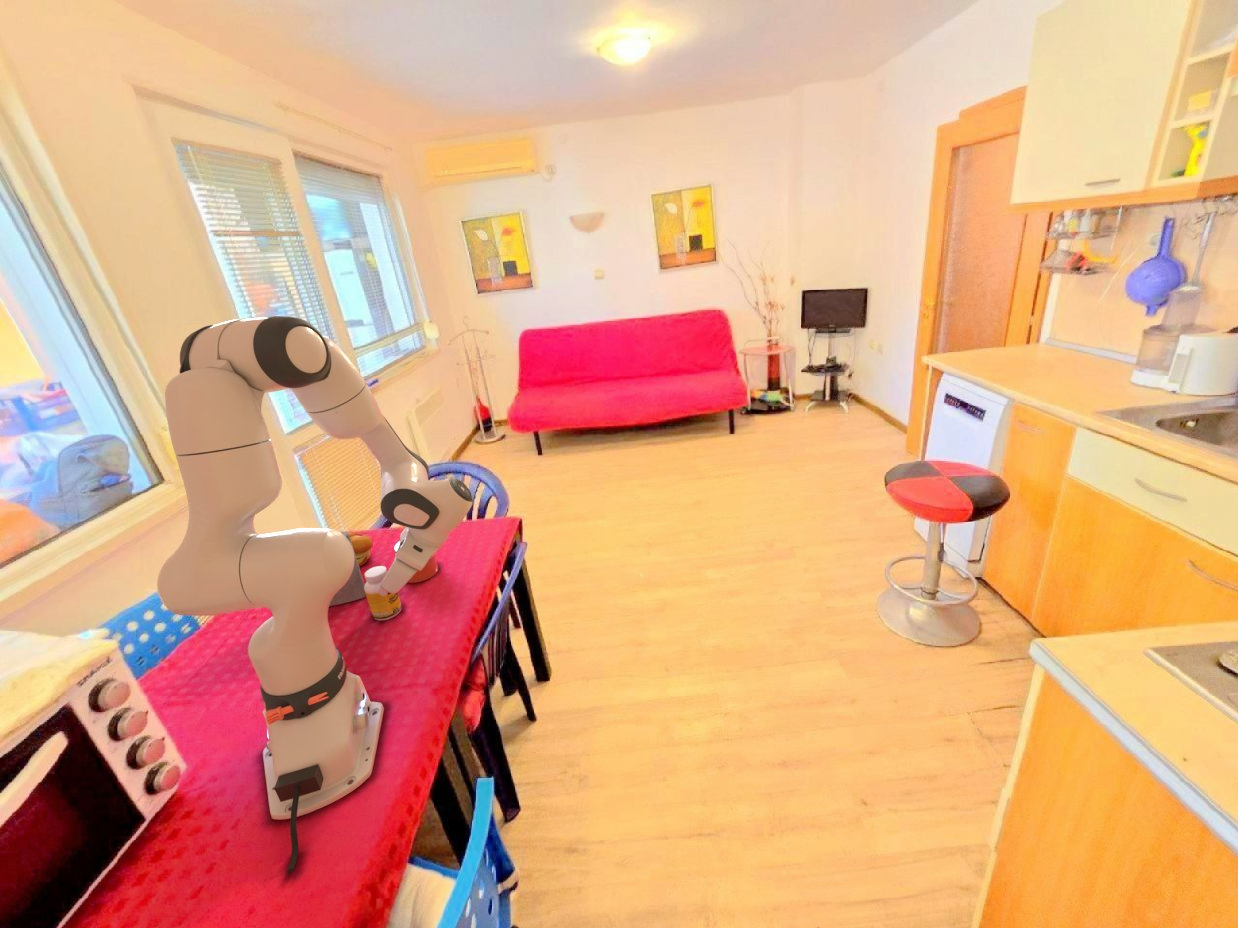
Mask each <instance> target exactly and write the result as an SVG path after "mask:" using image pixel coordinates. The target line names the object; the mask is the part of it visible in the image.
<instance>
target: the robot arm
mask: <svg viewBox="0 0 1238 928" xmlns="http://www.w3.org/2000/svg"><path fill="white" fill-rule="evenodd" d="M179 365H180V366H179V367H180V368H179V374H177V375H176V376H174V377H173V378H171V379H170V380H169V382H167V384H166V386H165V390H164V399H165V413H166V420H167V427H168V433H169V436H170V441H171V444H172V445H171V446H172V448H173V452H174V455H175V458H176V461H177V464H178V468H179V471H180V475H181V478H182V482H183V487H184V491H185V495H186V499H187V504H188V523H187V528H186V532H185V534H184V537H183V539H182V541H181V543H180V545H179V547H178V548H177V549H176V550H175V551H174V552H173V554H171V555H170V556H169V557H168V558H167V559H166V560H165V562H164V563H163V565H162V566H161V567H160V570H159V573H158V576H157V581H156V588H157V594H158V597H159V599H160V602H162V604H163V605H164V607H166V609H167V610H168V611H170V612H171V613H173V614H175V615H176V616H177V615H178V616H195V617H196V616H199V617H201V616H202V617H205V616H206V617H207V616H208V617H211V616H212V617H213V616H220V615H227V614H233V613H238V612H244V611H250V610H254V609H255V610H256V609H265V608H266V609H268V610H269V611H270V612H271V614H272V616H271V617H270V618H269V617H268V619H266V620H265V621H264V622H263V623H261V625H259V627H257V628H256V629H255V631H254V632H253V633H252V635H251V637H250V638H249V639H250V640H249V642H248V646H247V656H248V658H249V661H250V663H251V665H252V667H253V670H254V672H255V674H256V676H257V678H258V681H259V683H260V685H259V689H260V693H261V700H262V704H263V706H264V707H265V708H264V709H263V710H262V715H263V717H264V719H265V724H266V731H267V738H268V741H267V742H266V746H265V747H264V748H263V750H262V758H263V759H262V761H263V766H264V767H263V768H264V776H265V783H266V790H267V791H266V792H267V799H268V800H267V801H268V807H269V813H270V817H271V819H272V820H289V819H290V820H289V821H290V823H289V832H290V841H291V858H290V862H289V865H288V868H287V871H286V872H287V873H288V874H292V873H294V871H295V867H296V864H297V861H298V857H299V837H298V828H297V827H298V826H297V824H298V822H297V821H298V817H301V816H304V815H307V814H310V813H312V812H315V811H317V810H319V809H321V808H324V807H326V806H329V805H330V804H333V803H334V802H336V801H338V800H340V799H342V798H343V797H345V796H347V795H348V794H350V793H352V792H353V791H354V790H356V789H357V788H359V787H360V786H361V785H363V783H365V782H366V781H367V780H368V779H369V778H370V777H371V775H372V774H373V773H372V772H373V768H374V763H375V758H376V753H377V748H378V743H379V739H380V734H381V733H380V732H381V727H382V722H383V717H384V711H385V707H384V705H383V703H382V702H380V701H371V700H370V699H371V698H370V697H369V694H368V692H367V690H366V687H365V685H364V683H363V680H362V678H361V676H359V675H357V674H355V673H353V672H351V671H350V670H349V671H348V670H347V669H348V667H347V666H346V661H345V659H344V656H343V655H342V653H341V651H340V649H338V648H337V647H336V645H335V641H334V639H333V638H334V637H333V635H332V632H331V627H330V623H329V619H328V618H329V617H328V616H329V615H328V614H329V608H330V606H329V605H330V602H331V600H332V599H333V597H334V596H335V594H336V593H337V592H338V591H339V590H340V589H341V588H342V587H343V586H344V585H345V584H346V583H347V581H348V580H349V578H350V576H351V574H352V571H353V568H354V560H355V558H354V551H353V548H352V546H351V544H350V542H349V540H348V539H347V538H346V537H345V536H344V535H343V534H342V533H341V532H342V531H340V530H339V529H336V528H325V527H324V528H323V527H300V528H294V529H287V530H280V531H274V532H267V533H261V534H260V533H257V532H256V529H255V517H256V515H257V514H259V513H260V512H262V511H263V510H265V509H266V508H267V507H269V506H270V505H271V504H273V503H274V502H275V501H276V500H277V498H278V497H279V496H280V494H281V491H282V487H283V480H282V476H281V472H280V469H279V465H278V462H277V458H276V454H275V450H274V447H273V443H272V439H271V436H270V432H269V429H268V426H267V423H266V421H265V417H264V415H263V412H262V406H263V405H262V404H263V400H264V396H265V394H267V393H274V392H279V391H284V390H290V391H291V392H292V393H293V394H294V396H295V397H296V399H297V401H298V402H299V404H300V405H301V406H302V408H303V409H304V411H305V412H306V413H307V415H308V416H309V417H310V419H311V420H312V421H313V422H314V424H315V425H316V426H317V427H318V428H319V429H320V430H321V431H322V432H323V433H325V435H327V436H328V437H330V438H333V439H336V440H343V441H344V440H347V441H348V440H354V439H357V438H359V439H360V440H361V441H362V442H363V444H364V446H366V447H367V449H368V450H369V451H370V453H371V454H372V455H373V456H374V457H375V460H377V462H378V464H379V466H380V467H379V468H380V480H381V481H380V483H381V484H380V485H381V486H380V501H379V503H380V504H379V505H380V506H379V507H380V512H381V514H382V516H383V517H384V518H385V519H386V520H387V521H389V522H391V523H392V524H394V525H399V526H402V527H404V529H403V530H402V531H401V533H400V535H399V541H398V542H399V546H398V549H397V551H396V553H394V560H393V562H392V563H391V566H390V567H389V569H387V574H386V575H385V577H384V579H383V581H382V582H381V585H380V587H381V588H380V589H379V591H378V593H379V594H380V595H382V596H386V594H387V593H388V592H389V593H391V594H395V593H397V592H398V593H399V591H401V589H402V588H403V587H404V586H405V585H406V584H407V583H408V581H409V580H410V579H411V578H412V577H413V575H414V574H415V573H416V572H417V571H418V570H419V571H421V570H422V569H423V568H424V567H425V565H426V564H427V563H428V561H429V559H431V558H432V557H433V556H434V555H435V556H436V554H437V553H438V551H439V550H440V549H441V548H442V547H443V546H444V544H445V543H446V542H447V540H448V538H449V536H450V534H451V533H452V532H453V531H455V530H456V529H457V528H458V527H459V526H460V524H461V523H462V522H463V520H464V519H465V518H466V516H467V515H468V513H469V512H470V510H471V508H472V506H473V503H474V499H473V495H472V492H471V490H470V488H469V487H468V485H466V484H465V483H464V482H463V481H462V480H460V479H459V478H457V477H453V476H449V477H447V478H445V479H436V480H430V468H429V466H428V464H427V462H426V460H425V459H424V458H422V457H421V456H420V455H418V454H417V453H415V452H414V451H412V450H411V449H410V448H409V447H407V446H406V445H405V444H404V442H403V440H401V438H400V436H399V435H398V434H397V433H396V431H395V429H394V428H393V427H392V426H391V424H390V422H389V421H388V419H387V418H386V417H385V415H384V414H383V411H382V410H381V408H380V406H379V404H378V402H377V399H376V398H375V396H374V394H373V392H372V390H371V388H370V387H369V385H368V384H367V382H366V380H365V379H364V378H363V376H362V375H361V373H360V372H359V370H358V369H357V367H356V366H355V365H354V363H353V362H352V360H351V359H350V358H349V357H348V356H347V355H346V353H345V352H344V351H343V350H342V349H341V348H340V347H339V346H338V345H337V344H336V343H335V341H334V340H333V339H331V338H329V337H327V336H326V335H323V334H322V332H320V331H319V329H317V328H316V327H315V326H314V325H313V324H311V323H310V322H309V321H307V320H305V319H303V318H300V317H296V316H291V315H271V316H268V317H256V318H246V317H245V318H244V317H243V318H237V319H232V320H228V321H224V322H221V323H218V324H210V325H206V326H203V327H200V328H198V329H197V330H194V331H192V333H190V334H189V335H188V336H187V337H186V338H185V339H184V340H183V342H182V344H181V347H180V352H179Z"/></svg>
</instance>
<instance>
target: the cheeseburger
mask: <svg viewBox="0 0 1238 928" xmlns="http://www.w3.org/2000/svg"><path fill="white" fill-rule="evenodd" d="M347 532H348V533H349V536H350V540H351V543H352V546H353V549H354V552H355V555H356V558H357V562H358V565H359V568H360V567H362V566H364V565H365V563H367V562H368V560H369V559H370V556H371V549H372V548H373V546H374V543H373V540H372V539H371V537H370V536H368V535H367V534H359V533H356V532H352V531H347Z"/></svg>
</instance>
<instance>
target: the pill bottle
mask: <svg viewBox="0 0 1238 928" xmlns="http://www.w3.org/2000/svg"><path fill="white" fill-rule="evenodd" d="M387 572H388V568H387V567H386V566H385V565H376V566H373V567H370V568H368V569H367V570H366V571H365V572H364V578H365V581H366V582H365V583H364V584H365V586H364V590H365V594H366V596H365V597H366V599H367V603H368V606H369V609H370V612H371V616H372V617H373V619H374V620H376V621H387V620H390V619H393V618H395V617H396V616H397V615H398V614H400V612H401V611H402V607H403V605H402V602H401V599H400V595H399V591H398V592H397V593H395V594H391V593H389V592H388V593H387V594H386V596H382V595H380V594H379V593H378V591H379V589H380V588H381V587H380V585H381V582H382V581H383V579H384V577H385V575H386V574H387Z"/></svg>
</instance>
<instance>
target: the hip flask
mask: <svg viewBox="0 0 1238 928" xmlns="http://www.w3.org/2000/svg"><path fill="white" fill-rule="evenodd" d="M340 532H341V533H342V534H343V535H344V536H345V537H346V538H347V539H348V540H349V542H350V544H351V546H352V543H351V540H350V536H349V533H348V532H349V531H340ZM352 548H353V546H352ZM353 551H354V549H353ZM354 558H355V560H354V568H353V571H352V574H351V576H350V578H349V580H348V581H347V583H346V584H345V585H344V586H343V587H342V588H341V589H340V590H339V591H338V592H337V593H336V594H335V596H334V597H333V599H332V600H331V602H330V605H329V607H333V606H337V605H341V604H346V603H347V604H348V603H350V602H354V601H358V600H361V599H364V598H365V597H366V594H365V590H364V586H365V584H366V583H365V581H364V578H363V574H362V571H361V568H360V567H359V565H358V562H357V558H356V555H355V552H354Z"/></svg>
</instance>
